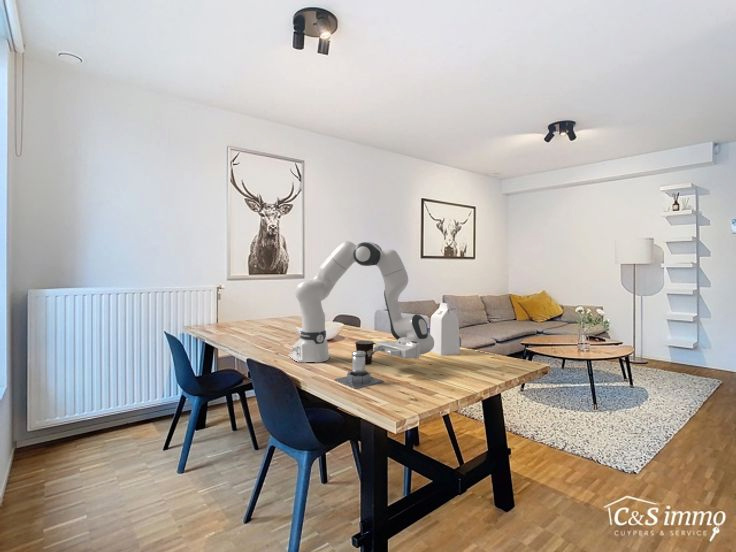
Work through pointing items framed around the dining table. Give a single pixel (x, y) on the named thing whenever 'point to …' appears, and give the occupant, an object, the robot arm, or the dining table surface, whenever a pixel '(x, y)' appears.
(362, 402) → the dining table surface
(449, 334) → the milk
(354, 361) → the grey metal cylinder
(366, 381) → the duct collar
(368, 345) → the coffee mug
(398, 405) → the dining table surface
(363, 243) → the robot arm
